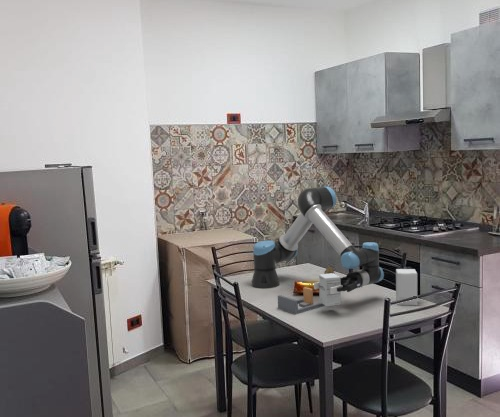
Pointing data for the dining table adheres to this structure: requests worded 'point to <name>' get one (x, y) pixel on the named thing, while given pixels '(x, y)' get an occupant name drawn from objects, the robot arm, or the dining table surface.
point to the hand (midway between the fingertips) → (322, 288)
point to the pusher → (307, 297)
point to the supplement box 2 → (406, 285)
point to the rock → (329, 270)
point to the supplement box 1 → (324, 289)
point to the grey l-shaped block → (294, 305)
